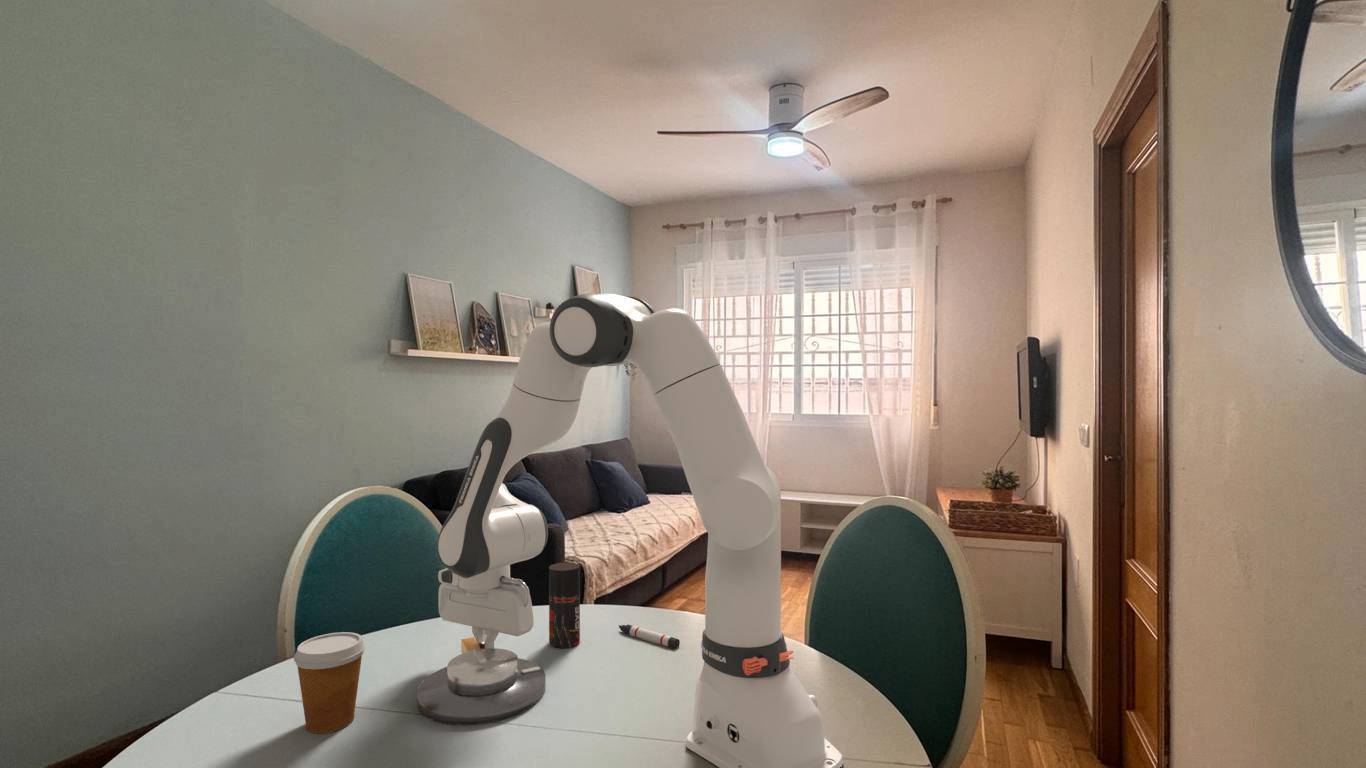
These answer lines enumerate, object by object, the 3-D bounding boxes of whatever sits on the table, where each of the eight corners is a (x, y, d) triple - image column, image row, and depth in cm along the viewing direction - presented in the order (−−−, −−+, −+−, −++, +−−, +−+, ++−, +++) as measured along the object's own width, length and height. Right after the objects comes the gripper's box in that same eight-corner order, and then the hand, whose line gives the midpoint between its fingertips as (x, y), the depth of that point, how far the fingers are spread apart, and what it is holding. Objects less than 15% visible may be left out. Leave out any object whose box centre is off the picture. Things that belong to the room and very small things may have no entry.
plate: (562, 704, 105) (562, 689, 105) (428, 738, 95) (428, 722, 95) (525, 659, 122) (525, 647, 122) (408, 684, 112) (408, 670, 112)
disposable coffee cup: (316, 746, 93) (316, 660, 93) (280, 728, 98) (280, 646, 98) (378, 717, 101) (378, 638, 101) (342, 702, 106) (342, 626, 106)
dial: (525, 685, 106) (525, 664, 106) (453, 701, 101) (453, 679, 101) (498, 646, 123) (498, 628, 123) (435, 658, 117) (435, 638, 117)
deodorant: (577, 649, 127) (577, 570, 127) (546, 649, 127) (546, 570, 127) (582, 637, 133) (582, 562, 133) (552, 637, 133) (552, 562, 133)
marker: (679, 647, 128) (679, 637, 129) (673, 650, 127) (673, 640, 127) (621, 630, 138) (621, 620, 138) (615, 632, 136) (615, 623, 136)
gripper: (540, 576, 116) (542, 656, 115) (459, 563, 126) (460, 636, 126) (514, 585, 110) (516, 669, 110) (431, 571, 120) (432, 648, 120)
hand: (485, 651), depth 118 cm, fingers closed
